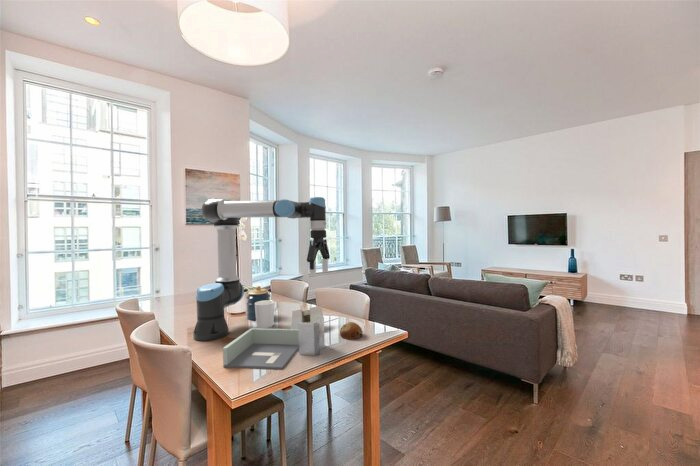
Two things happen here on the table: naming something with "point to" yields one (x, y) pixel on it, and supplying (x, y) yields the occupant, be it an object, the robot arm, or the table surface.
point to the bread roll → (351, 331)
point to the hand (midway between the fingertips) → (319, 274)
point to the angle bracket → (311, 337)
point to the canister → (255, 300)
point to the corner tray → (262, 348)
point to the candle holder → (264, 313)
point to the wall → (306, 316)
